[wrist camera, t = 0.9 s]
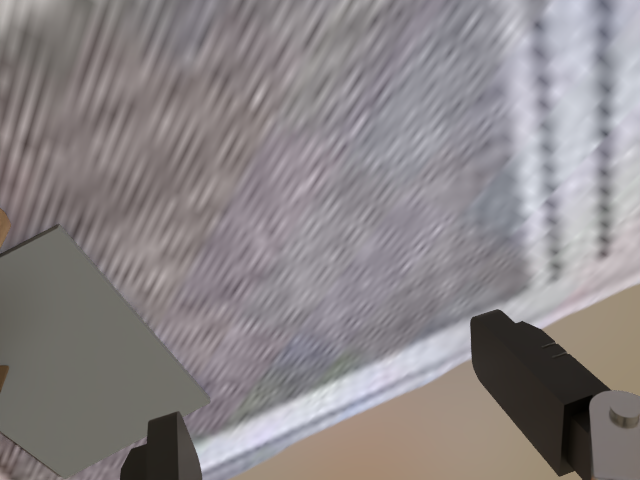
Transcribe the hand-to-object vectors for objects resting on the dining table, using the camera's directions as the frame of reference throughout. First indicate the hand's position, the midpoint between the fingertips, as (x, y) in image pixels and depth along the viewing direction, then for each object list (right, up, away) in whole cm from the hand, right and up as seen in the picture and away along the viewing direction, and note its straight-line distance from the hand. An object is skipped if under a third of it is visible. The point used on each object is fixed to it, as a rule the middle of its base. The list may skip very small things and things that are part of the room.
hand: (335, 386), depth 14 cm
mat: (-20, -6, +26) cm, 33 cm away
